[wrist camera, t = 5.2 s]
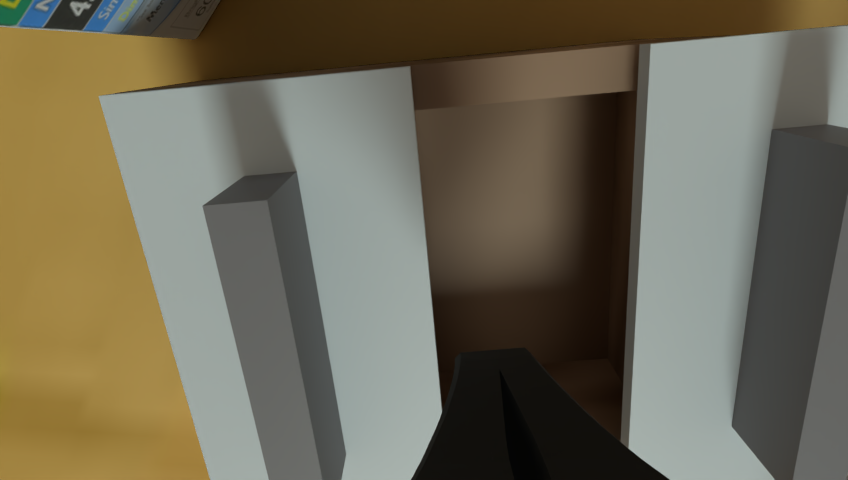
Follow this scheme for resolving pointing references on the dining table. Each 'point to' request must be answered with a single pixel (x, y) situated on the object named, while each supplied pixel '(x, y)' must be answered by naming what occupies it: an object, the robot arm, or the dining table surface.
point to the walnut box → (528, 206)
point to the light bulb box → (111, 16)
